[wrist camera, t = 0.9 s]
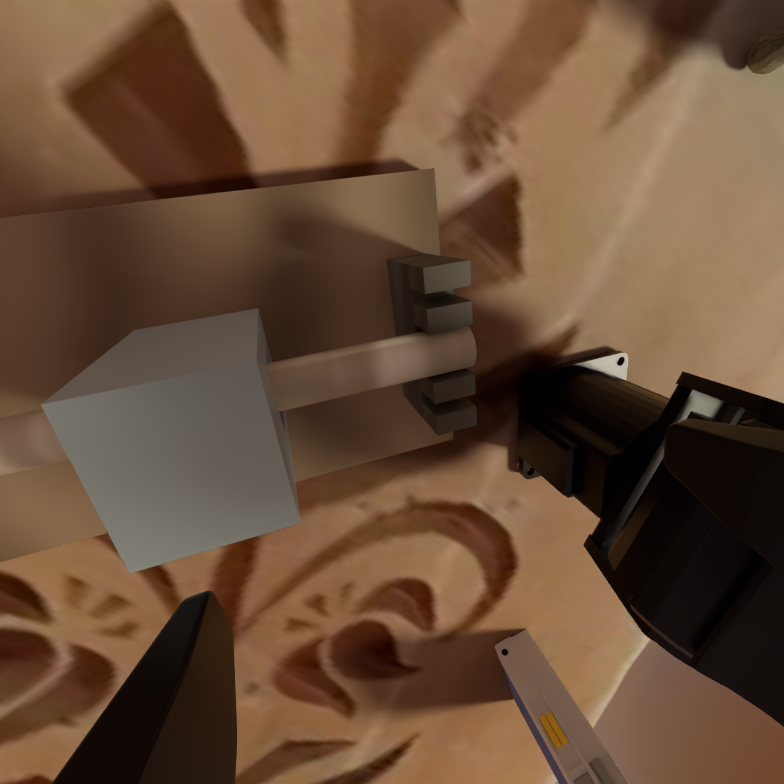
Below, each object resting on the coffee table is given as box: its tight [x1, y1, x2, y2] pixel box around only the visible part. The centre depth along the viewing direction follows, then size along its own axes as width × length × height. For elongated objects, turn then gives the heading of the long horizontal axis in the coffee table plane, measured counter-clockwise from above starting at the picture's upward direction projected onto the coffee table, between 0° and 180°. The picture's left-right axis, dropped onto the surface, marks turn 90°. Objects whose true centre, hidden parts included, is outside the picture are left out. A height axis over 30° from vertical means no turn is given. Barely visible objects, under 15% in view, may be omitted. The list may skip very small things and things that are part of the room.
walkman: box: [494, 629, 629, 784], centre depth 26 cm, size 8×3×12 cm, turn 19°
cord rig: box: [0, 168, 477, 562], centre depth 13 cm, size 25×12×6 cm, turn 97°
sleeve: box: [41, 308, 301, 573], centre depth 12 cm, size 4×4×6 cm
